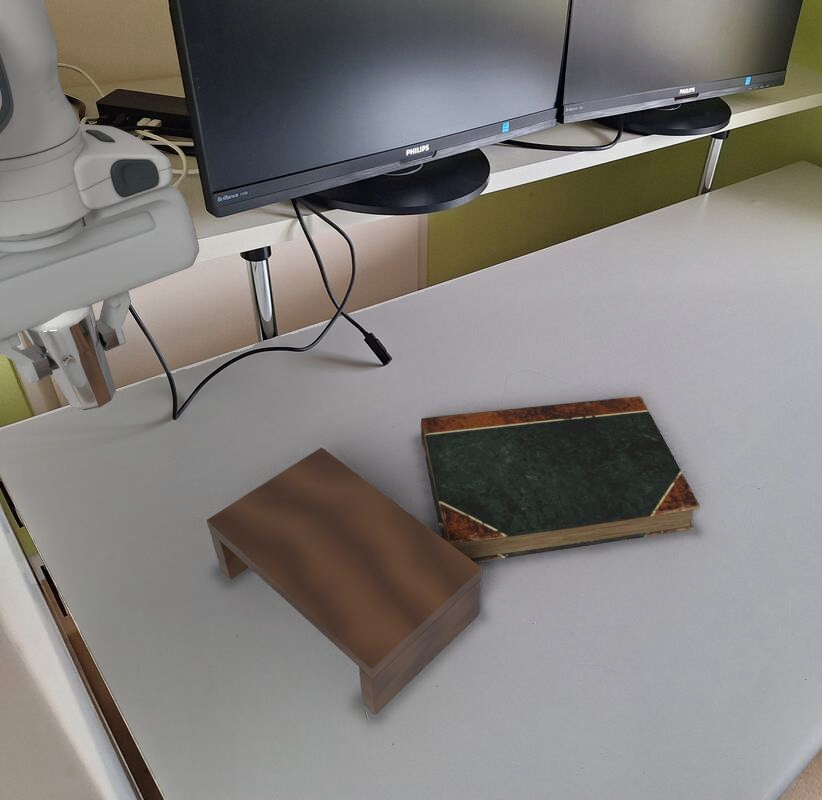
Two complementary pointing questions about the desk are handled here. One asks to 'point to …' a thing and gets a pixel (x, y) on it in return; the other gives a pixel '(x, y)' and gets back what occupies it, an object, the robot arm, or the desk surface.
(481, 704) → the desk surface
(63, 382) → the milkshake
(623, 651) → the desk surface
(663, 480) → the book
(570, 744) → the desk surface
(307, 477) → the riser shelf
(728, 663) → the desk surface
